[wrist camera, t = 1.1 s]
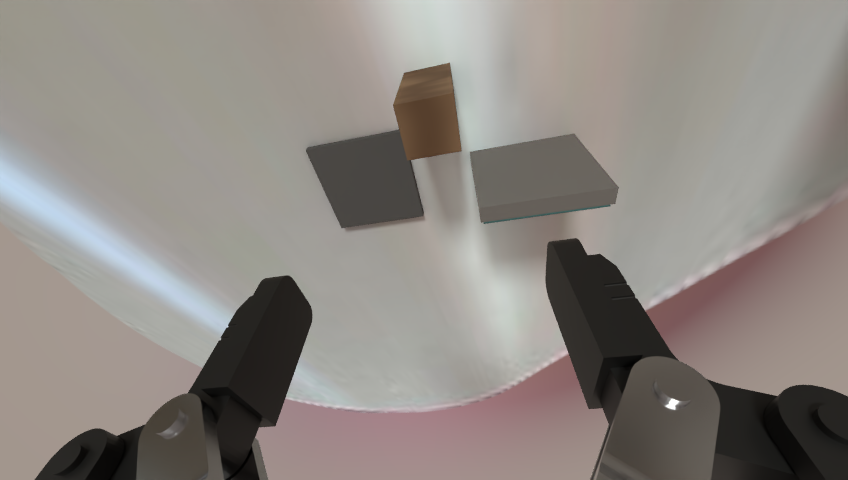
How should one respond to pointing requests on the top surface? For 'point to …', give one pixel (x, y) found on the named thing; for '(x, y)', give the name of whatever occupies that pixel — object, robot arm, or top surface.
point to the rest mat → (367, 179)
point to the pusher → (427, 113)
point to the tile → (539, 179)
